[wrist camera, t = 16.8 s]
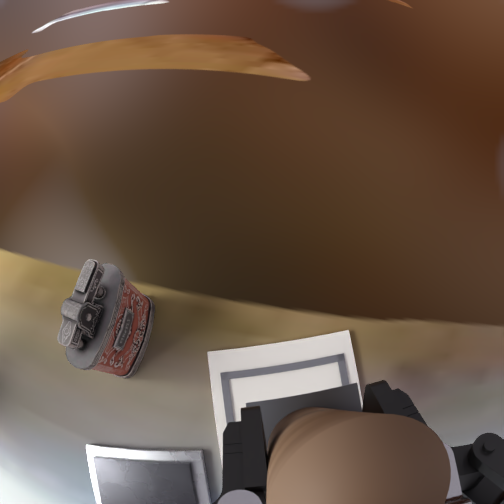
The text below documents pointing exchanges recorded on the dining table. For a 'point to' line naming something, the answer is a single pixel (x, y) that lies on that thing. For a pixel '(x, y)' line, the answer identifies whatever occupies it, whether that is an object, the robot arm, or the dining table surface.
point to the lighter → (106, 321)
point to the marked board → (278, 373)
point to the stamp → (349, 453)
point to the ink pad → (147, 476)
